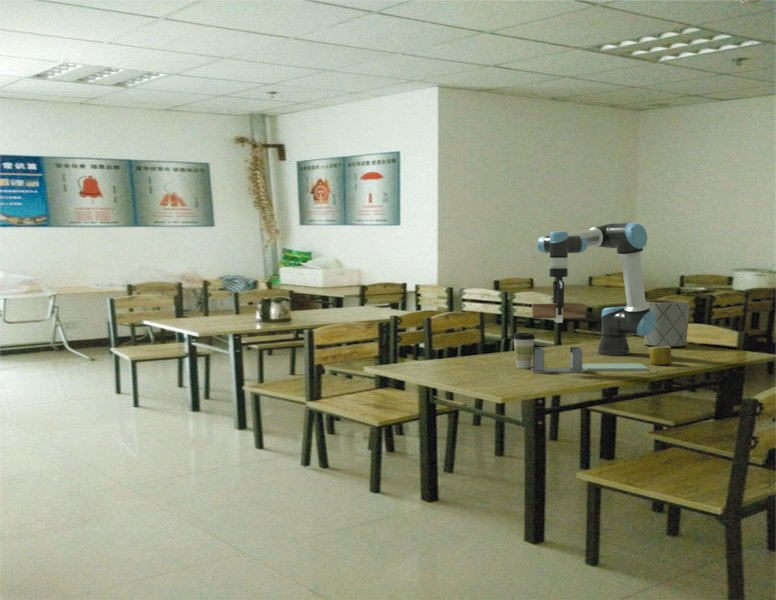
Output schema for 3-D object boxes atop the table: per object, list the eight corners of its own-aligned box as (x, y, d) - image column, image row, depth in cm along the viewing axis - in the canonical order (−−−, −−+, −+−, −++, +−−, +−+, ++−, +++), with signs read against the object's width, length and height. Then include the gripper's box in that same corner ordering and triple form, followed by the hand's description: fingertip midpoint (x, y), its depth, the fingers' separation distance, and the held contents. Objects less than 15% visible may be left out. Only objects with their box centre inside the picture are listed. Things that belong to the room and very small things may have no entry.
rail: (531, 317, 327) (531, 303, 326) (583, 316, 326) (583, 303, 325) (533, 318, 323) (533, 304, 322) (585, 317, 322) (585, 303, 321)
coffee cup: (523, 370, 330) (523, 336, 329) (508, 366, 338) (508, 333, 337) (539, 367, 335) (539, 334, 334) (524, 364, 343) (524, 332, 342)
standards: (530, 369, 330) (530, 347, 330) (581, 369, 329) (581, 346, 329) (532, 373, 322) (533, 349, 322) (584, 372, 321) (585, 349, 321)
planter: (665, 350, 380) (666, 304, 378) (633, 344, 401) (633, 300, 399) (698, 347, 390) (699, 301, 388) (665, 341, 410) (666, 298, 408)
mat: (581, 365, 338) (581, 363, 338) (640, 365, 337) (640, 363, 337) (587, 370, 326) (587, 368, 326) (648, 370, 325) (648, 368, 325)
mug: (677, 362, 333) (669, 341, 335) (654, 369, 335) (646, 347, 337) (674, 363, 345) (667, 342, 346) (651, 369, 347) (644, 349, 349)
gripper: (546, 266, 331) (546, 319, 333) (553, 268, 314) (552, 324, 316) (563, 266, 331) (563, 319, 333) (571, 268, 314) (571, 324, 316)
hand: (558, 321), depth 324 cm, fingers closed on rail, 4 cm apart
